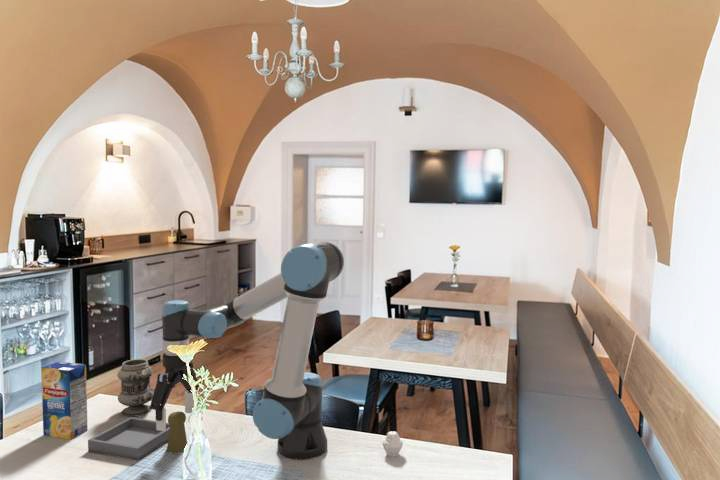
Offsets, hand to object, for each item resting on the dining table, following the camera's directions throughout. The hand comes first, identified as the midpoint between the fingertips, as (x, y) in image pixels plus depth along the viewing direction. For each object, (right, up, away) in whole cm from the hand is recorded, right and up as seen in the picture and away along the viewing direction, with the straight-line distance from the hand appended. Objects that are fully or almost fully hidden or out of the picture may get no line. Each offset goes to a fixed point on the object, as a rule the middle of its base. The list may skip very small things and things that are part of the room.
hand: (175, 421), depth 160 cm
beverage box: (-39, -8, +11) cm, 42 cm away
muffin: (+65, -9, -2) cm, 66 cm away
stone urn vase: (-24, -7, +29) cm, 38 cm away
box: (-14, -8, +4) cm, 17 cm away
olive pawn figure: (0, -9, 0) cm, 9 cm away
